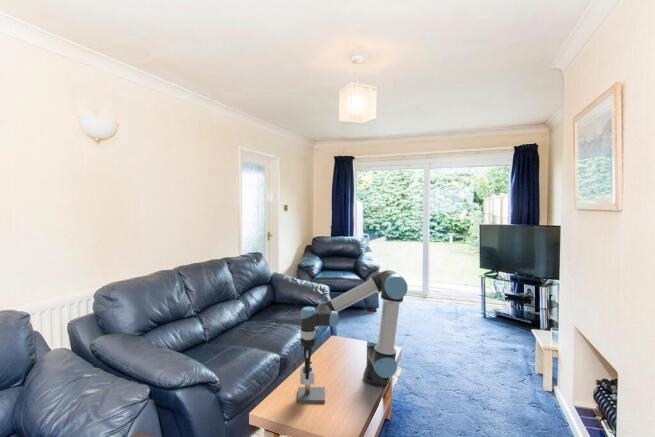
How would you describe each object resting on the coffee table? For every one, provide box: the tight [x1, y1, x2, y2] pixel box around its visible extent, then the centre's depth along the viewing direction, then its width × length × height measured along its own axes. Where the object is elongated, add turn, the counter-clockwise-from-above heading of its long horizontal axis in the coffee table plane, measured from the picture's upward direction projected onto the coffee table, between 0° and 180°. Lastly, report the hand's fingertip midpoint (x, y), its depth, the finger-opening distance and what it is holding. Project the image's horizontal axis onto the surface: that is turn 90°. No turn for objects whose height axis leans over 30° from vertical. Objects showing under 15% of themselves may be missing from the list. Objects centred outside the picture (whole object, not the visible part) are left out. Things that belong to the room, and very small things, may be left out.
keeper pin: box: [304, 384, 311, 395], centre depth 178 cm, size 3×3×9 cm
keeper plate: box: [296, 386, 326, 404], centre depth 179 cm, size 14×12×2 cm
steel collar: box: [299, 365, 315, 386], centre depth 178 cm, size 7×7×6 cm
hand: (307, 380), depth 178 cm, fingers closed on steel collar, 7 cm apart
